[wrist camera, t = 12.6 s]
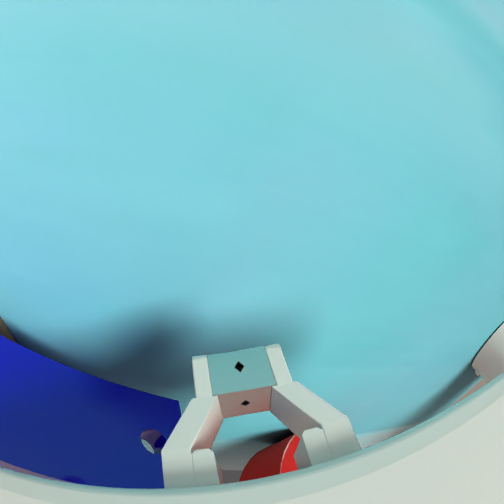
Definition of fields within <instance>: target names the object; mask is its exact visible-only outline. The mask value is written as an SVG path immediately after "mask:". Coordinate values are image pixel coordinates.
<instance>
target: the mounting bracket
mask: <svg viewBox="0 0 504 504" xmlns="http://www.w3.org/2000/svg"><path fill="white" fill-rule="evenodd" d="M180 418H181V411H180V406H179V401H177V400H173V399H168V398H164V397H160V396H157V395H153V394H149V393H146V392H142V391H138V390H135V389H132V388H128V387H125V386H122V385H119V384H116V383H112V382H109V381H106V380H103V379H101V378H98V377H95V376H92V375H89V374H87V373H84V372H81V371H79V370H76V369H73V368H71V367H68V366H66V365H63V364H61V363H59V362H56V361H54V360H51V359H49V358H47V357H45V356H42V355H40V354H38V353H36V352H34V351H31V350H29V349H27V348H25V347H23V346H21V345H19V344H17V343H15V342H13V341H11V340H9V339H7V338H5V337H3V336H2V335H0V467H3V468H6V469H10V470H13V471H17V472H21V473H24V474H28V475H33V476H37V477H42V478H46V479H51V480H57V481H63V482H69V483H75V484H83V485H91V486H101V487H114V488H135V489H165V487H164V477H163V467H162V455H161V451H162V449H163V447H164V445H165V444H166V442H167V440H168V439H169V437H170V435H171V433H172V432H173V430H174V428H175V426H176V425H177V423H178V421H179V420H180ZM141 439H144V440H146V441H147V442H148V443H149V444H150V445H151V446H152V448H153V450H154V454H153V453H151V452H149V451H148V450H147V449H146V448H145V447H144V446H143V444H142V442H141Z"/></svg>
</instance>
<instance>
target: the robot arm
mask: <svg viewBox="0 0 504 504" xmlns="http://www.w3.org/2000/svg"><path fill="white" fill-rule="evenodd" d="M472 368H474V369H475V374H476V375H477V376H480V375H481V376H482V378H483V379H484V380H485V381H486V383H487V384H486V385H485V386H483V387H482V388H480V389H479V390H477V391H476V392H474V393H473V394H471V395H470V396H468V397H467V398H465V399H463V400H462V401H460V402H459V403H457V404H455V405H453V406H452V407H450V408H448V409H447V410H445V411H443V412H441V413H439V414H438V415H436V416H434V417H432V418H430V419H428V420H427V421H425V422H423V423H421V424H419V425H417V426H415V427H413V428H411V429H409V430H406V431H404V432H402V433H400V434H398V435H396V436H393V437H391V438H389V439H387V440H384V441H382V442H379V443H377V444H375V445H372V446H370V447H367V448H364V449H362V450H361V447H360V445H359V442H358V440H357V438H356V435H355V433H354V431H353V428H352V426H351V424H350V421H349V419H348V417H347V416H345V415H344V414H342V413H341V412H340V411H338V410H337V409H335V408H334V407H332V406H331V405H330V404H328V403H327V402H325V401H324V400H322V399H321V398H320V397H318V396H317V395H315V394H314V393H313V392H311V391H310V390H309V389H307V388H306V387H304V386H303V385H302V384H300V383H299V382H298V381H294V382H293V381H292V378H291V375H290V372H289V370H288V367H287V364H286V361H285V358H284V355H283V353H282V350H281V347H280V345H279V344H278V343H276V344H272V345H267V346H259V347H253V348H248V349H242V350H237V351H233V352H225V353H218V354H209V355H200V356H192V369H193V378H194V387H195V396H196V398H192V399H191V400H190V402H189V404H188V406H187V407H186V409H185V411H184V413H183V414H182V416H181V418H180V420H179V421H178V423H177V425H176V426H175V428H174V430H173V432H172V433H171V435H170V437H169V439H168V440H167V442H166V444H165V445H164V447H163V449H162V451H161V455H162V467H163V477H164V487H165V489H135V488H114V487H101V486H91V485H83V484H75V483H69V482H63V481H57V480H51V479H46V478H42V477H37V476H33V475H28V474H24V473H21V472H17V471H13V470H10V469H6V468H3V467H0V504H504V323H503V324H502V325H501V326H500V327H499V328H498V329H497V331H496V332H495V333H494V334H493V335H492V336H491V338H490V339H489V340H488V341H487V342H486V344H485V345H484V346H483V347H482V349H481V350H480V352H479V353H478V354H477V356H476V357H475V359H474V361H473V363H472ZM268 410H270V412H271V413H272V414H273V415H275V416H276V417H277V418H278V419H279V420H280V421H281V422H282V423H283V424H284V425H285V426H286V427H288V428H289V429H290V430H291V431H292V432H293V433H294V434H295V435H297V436H298V437H299V438H300V441H299V444H298V446H297V449H296V451H295V453H294V458H295V462H296V465H297V468H298V470H295V471H291V472H287V473H283V474H278V475H274V476H269V477H264V478H259V479H253V480H248V481H242V482H235V483H228V484H225V483H224V479H223V474H222V469H221V467H220V465H219V463H218V461H217V458H216V456H215V454H214V452H213V451H212V450H210V449H211V447H212V444H213V442H214V440H215V438H216V435H217V433H218V431H219V428H220V426H221V424H222V421H223V418H228V417H233V416H239V415H244V414H250V413H257V412H263V411H268Z"/></svg>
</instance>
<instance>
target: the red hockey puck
mask: <svg viewBox="0 0 504 504" xmlns="http://www.w3.org/2000/svg"><path fill="white" fill-rule="evenodd" d="M299 441H300V438H299V437H298V436H297V435H295V434H293V435H291V436H290V437H288V438H286V439H283V440H281V441H279V442H277V443H275V444H273V445H271V446H269V447H267V448H265V449H263V450H261V451H259V452H257V453H256V454H255V455H254V456H253V457H252V458H251V459H250V460H249V462H248V463H247V465H246V466H245V468H244V470H243V472H242V475H241V477H240V480H239V482H242V481H248V480H253V479H259V478H264V477H269V476H274V475H278V474H283V473H287V472H291V471H295V470H298V468H297V465H296V462H295V458H294V453H295V451H296V449H297V446H298V444H299Z"/></svg>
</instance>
